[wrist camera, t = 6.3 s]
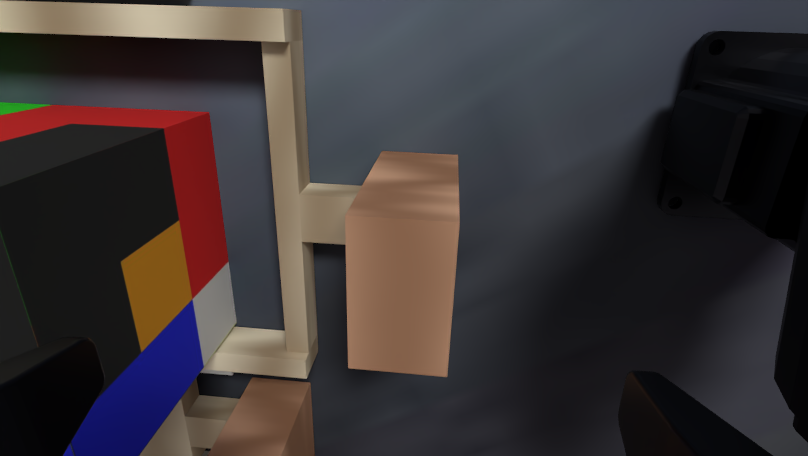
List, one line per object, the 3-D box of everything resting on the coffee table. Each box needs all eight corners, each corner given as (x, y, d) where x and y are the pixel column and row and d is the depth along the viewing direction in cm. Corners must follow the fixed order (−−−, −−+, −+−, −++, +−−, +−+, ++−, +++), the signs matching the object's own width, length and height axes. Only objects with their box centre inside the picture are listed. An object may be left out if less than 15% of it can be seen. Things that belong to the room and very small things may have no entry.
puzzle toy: (237, 321, 23) (94, 517, 14) (43, 306, 24) (-214, 481, 15) (209, 112, 19) (-14, 191, 10) (-21, 101, 20) (-425, 165, 11)
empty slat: (310, 382, 24) (257, 513, 18) (314, 455, 26) (268, 596, 20) (-74, 347, 26) (-251, 454, 19) (-43, 418, 28) (-194, 537, 21)
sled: (468, 15, 17) (476, 9, 10) (442, 361, 23) (437, 494, 16) (-80, -1, 18) (-365, -15, 12) (28, 325, 24) (-124, 433, 18)
